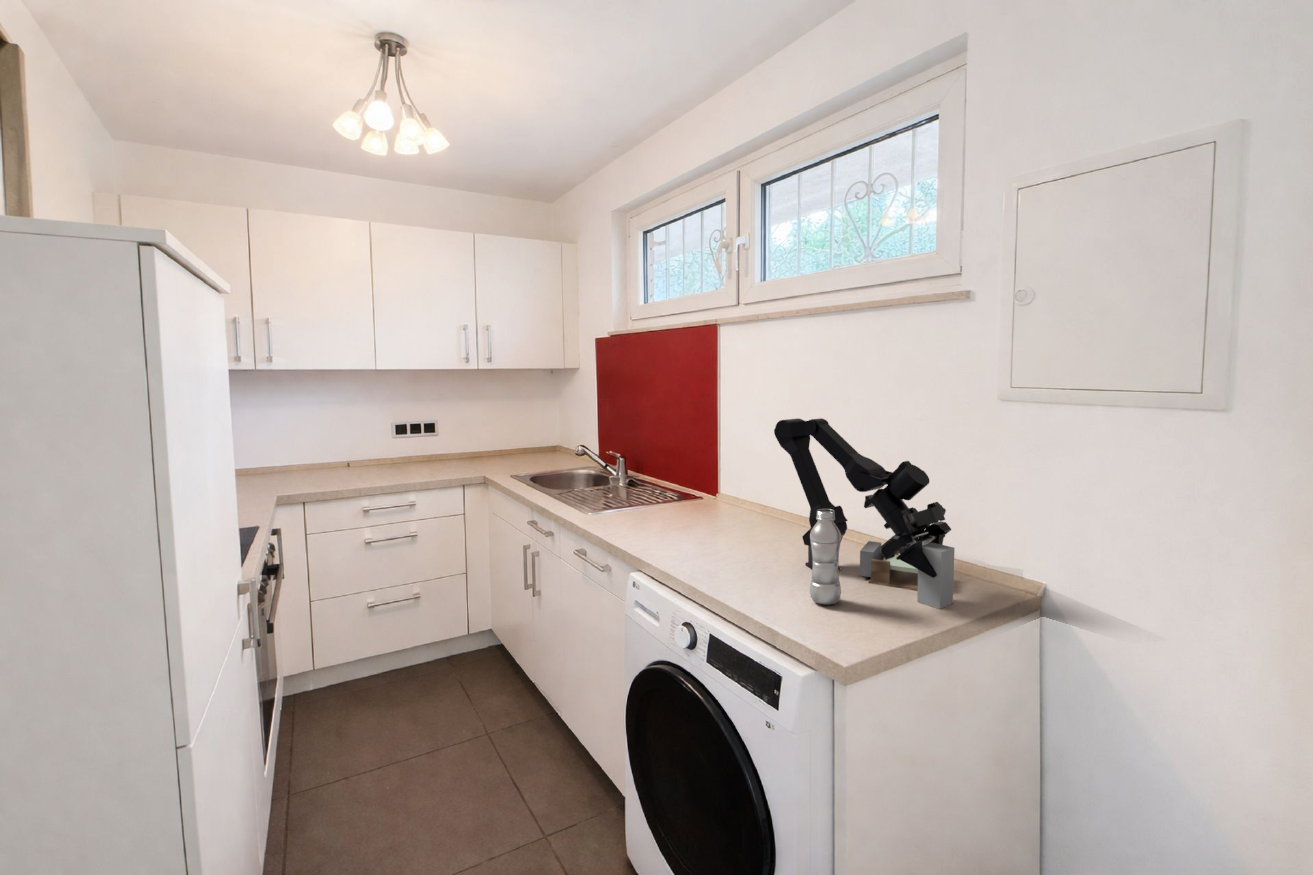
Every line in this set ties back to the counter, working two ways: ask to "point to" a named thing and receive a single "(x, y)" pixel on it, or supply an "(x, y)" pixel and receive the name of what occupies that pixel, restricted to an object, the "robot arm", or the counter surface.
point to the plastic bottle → (825, 559)
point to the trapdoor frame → (892, 575)
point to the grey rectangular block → (937, 577)
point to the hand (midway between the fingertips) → (942, 573)
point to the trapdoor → (874, 552)
